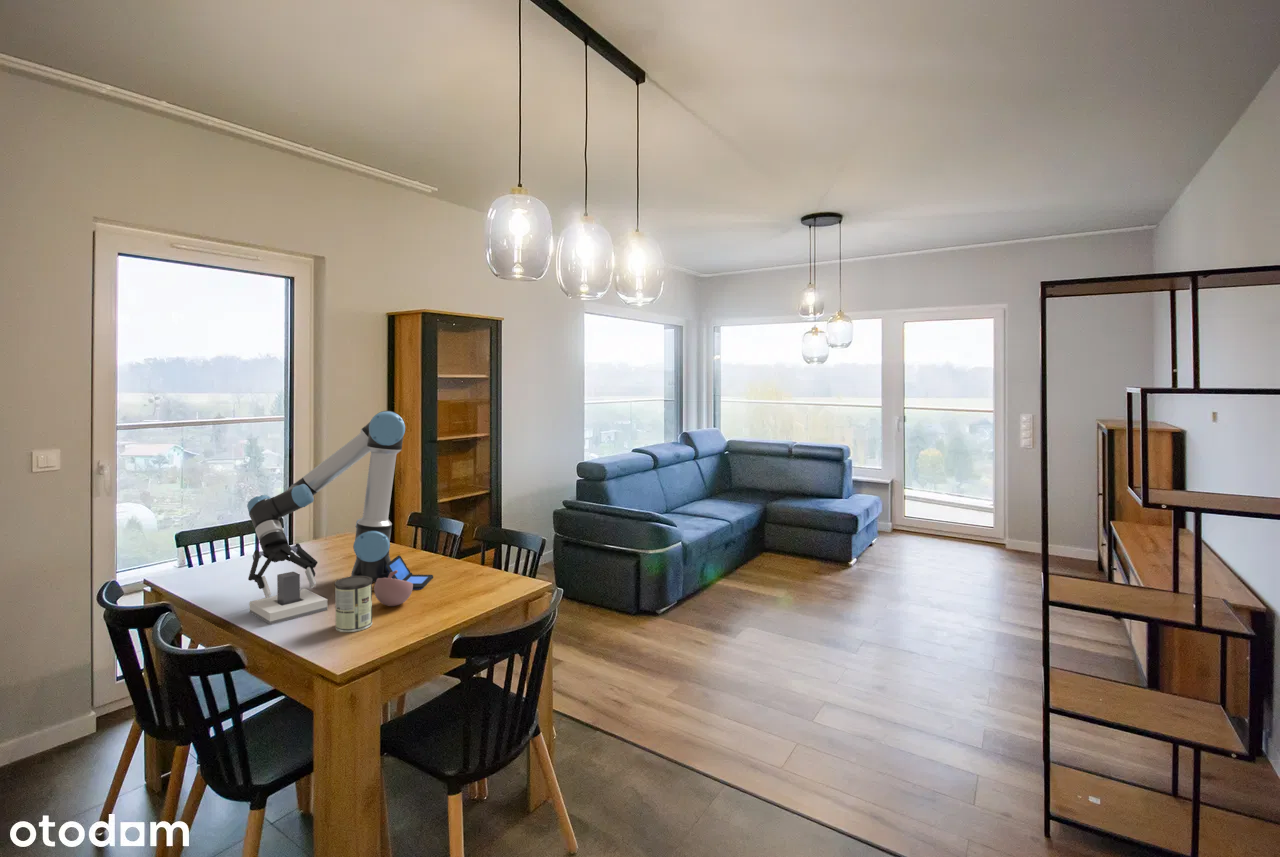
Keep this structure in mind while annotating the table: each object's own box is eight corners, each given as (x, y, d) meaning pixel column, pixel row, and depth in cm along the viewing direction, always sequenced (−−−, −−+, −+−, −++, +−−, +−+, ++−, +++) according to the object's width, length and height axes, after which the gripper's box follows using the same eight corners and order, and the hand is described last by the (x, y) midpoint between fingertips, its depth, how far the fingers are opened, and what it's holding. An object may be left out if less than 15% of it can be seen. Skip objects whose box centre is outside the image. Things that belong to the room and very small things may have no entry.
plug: (293, 604, 198) (293, 571, 198) (299, 607, 195) (299, 574, 195) (277, 608, 194) (277, 574, 194) (284, 611, 191) (283, 577, 191)
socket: (305, 598, 206) (305, 588, 206) (327, 609, 197) (327, 599, 196) (249, 612, 193) (249, 601, 193) (270, 624, 183) (270, 613, 183)
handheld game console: (422, 590, 219) (422, 565, 218) (384, 590, 218) (384, 565, 217) (434, 577, 234) (434, 554, 234) (398, 577, 233) (398, 554, 233)
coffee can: (344, 619, 189) (344, 575, 188) (377, 620, 189) (377, 575, 188) (328, 632, 178) (328, 585, 178) (363, 632, 179) (363, 586, 178)
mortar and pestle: (419, 600, 208) (419, 567, 207) (401, 612, 196) (402, 577, 195) (386, 598, 209) (386, 565, 208) (367, 610, 197) (366, 575, 197)
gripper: (307, 537, 213) (327, 587, 205) (225, 550, 193) (244, 607, 185) (314, 524, 209) (335, 575, 201) (231, 536, 190) (251, 593, 181)
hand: (291, 590), depth 193 cm, fingers open, 13 cm apart
